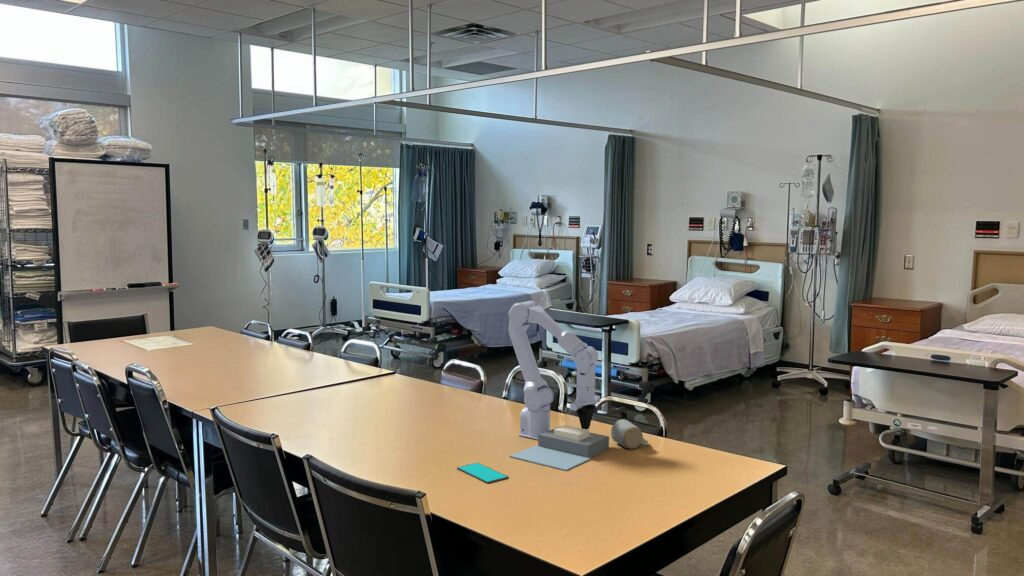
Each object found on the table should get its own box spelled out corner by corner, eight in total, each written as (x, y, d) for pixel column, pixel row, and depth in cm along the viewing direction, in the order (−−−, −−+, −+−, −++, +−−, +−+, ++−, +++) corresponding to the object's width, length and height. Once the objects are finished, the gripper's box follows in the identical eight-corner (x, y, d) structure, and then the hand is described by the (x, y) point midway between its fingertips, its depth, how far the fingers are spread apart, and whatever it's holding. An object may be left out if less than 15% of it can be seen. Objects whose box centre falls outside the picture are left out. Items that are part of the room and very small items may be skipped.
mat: (509, 457, 220) (509, 455, 220) (535, 446, 230) (535, 445, 230) (566, 471, 208) (566, 469, 208) (590, 459, 218) (590, 458, 218)
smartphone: (487, 482, 197) (456, 467, 209) (487, 485, 197) (456, 470, 209) (509, 476, 202) (478, 462, 214) (509, 479, 202) (478, 465, 214)
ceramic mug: (623, 451, 226) (624, 426, 225) (610, 443, 233) (610, 419, 233) (653, 448, 230) (654, 423, 229) (639, 440, 237) (639, 417, 237)
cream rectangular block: (554, 435, 228) (554, 429, 228) (564, 431, 233) (565, 425, 232) (578, 441, 222) (578, 434, 222) (589, 436, 227) (589, 430, 227)
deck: (538, 447, 229) (538, 434, 229) (560, 438, 239) (560, 426, 239) (587, 458, 218) (588, 445, 218) (608, 449, 228) (609, 436, 228)
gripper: (584, 391, 224) (583, 435, 225) (608, 383, 236) (608, 425, 237) (564, 388, 229) (564, 431, 230) (589, 380, 240) (589, 422, 241)
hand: (585, 428), depth 234 cm, fingers closed
